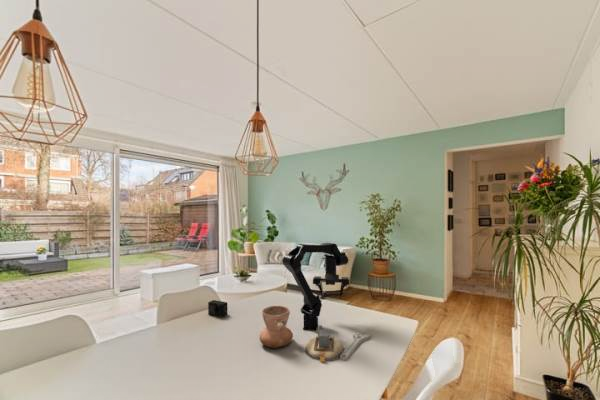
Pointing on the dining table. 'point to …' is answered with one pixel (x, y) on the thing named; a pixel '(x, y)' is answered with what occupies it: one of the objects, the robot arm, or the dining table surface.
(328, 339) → the link block
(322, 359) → the turntable base
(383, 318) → the dining table surface
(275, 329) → the ceramic jug
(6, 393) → the dining table surface
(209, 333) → the dining table surface
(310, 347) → the index disc
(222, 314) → the digital camera
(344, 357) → the adjustable wrench
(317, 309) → the robot arm
